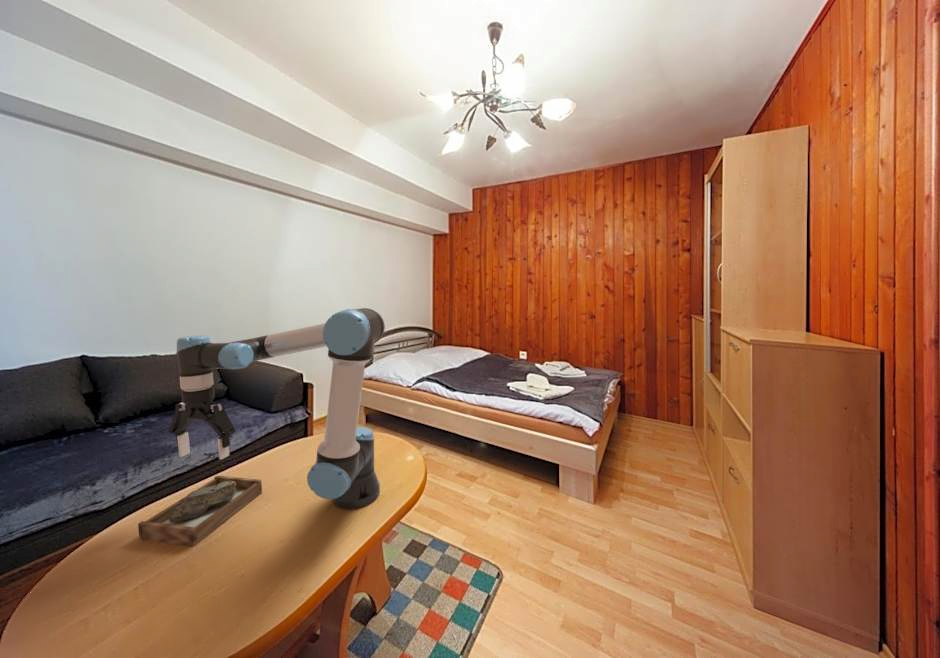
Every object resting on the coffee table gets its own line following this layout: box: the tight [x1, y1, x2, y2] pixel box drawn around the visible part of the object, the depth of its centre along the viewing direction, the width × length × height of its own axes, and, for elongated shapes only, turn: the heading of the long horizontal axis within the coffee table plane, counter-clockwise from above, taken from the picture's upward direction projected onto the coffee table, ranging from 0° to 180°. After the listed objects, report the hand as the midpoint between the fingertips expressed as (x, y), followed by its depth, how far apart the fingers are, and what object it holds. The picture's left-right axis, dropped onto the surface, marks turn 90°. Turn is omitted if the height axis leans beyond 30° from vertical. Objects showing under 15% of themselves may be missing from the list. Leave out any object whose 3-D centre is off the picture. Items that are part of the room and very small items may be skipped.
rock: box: [169, 481, 237, 522], centre depth 99 cm, size 17×7×10 cm
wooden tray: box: [137, 475, 263, 548], centre depth 99 cm, size 17×24×5 cm
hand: (204, 456), depth 98 cm, fingers open, 13 cm apart
